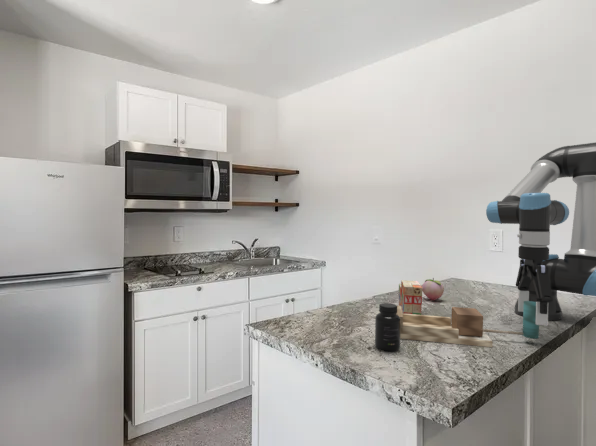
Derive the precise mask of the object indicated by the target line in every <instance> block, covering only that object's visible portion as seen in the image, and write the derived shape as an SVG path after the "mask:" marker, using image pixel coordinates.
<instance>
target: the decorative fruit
mask: <svg viewBox="0 0 596 446" xmlns="http://www.w3.org/2000/svg"><path fill="white" fill-rule="evenodd" d="M421 286H422V288H423V289H422V294H424V296H425V297H427V298H428V299H429V300H431V301H436V300H438V299H440V298H441V297H442V296H443V295H444V292H445V287H444V285H443V283H442V282H441V281H440V280H434V277H432V279H430V278H429V279H425V280H424V282H423V283H422V284H421Z"/></svg>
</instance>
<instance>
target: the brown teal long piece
mask: <svg viewBox="0 0 596 446" xmlns="http://www.w3.org/2000/svg"><path fill="white" fill-rule="evenodd" d="M451 326H452V327H453V328H455V329H458V330H459V335H469V336H480V337H483V332H485V333H494V334H506V335H519V336H523V337H524V338H528V339H531V340H533V339H535V340H536V339H537V340H538V339H539V338H540V335H539V334H540V325H536V302H533V301H524V306H523V316H522V331H512V330H511V331H510V330H509V331H508V330H500V329H498V330H497V329H489V328H484V316H483V314H482V313H480V312H479V310H477V308H476V307H475V308H473V307H472V308H471V307H460V306H459V307H457V306H452V307H451Z"/></svg>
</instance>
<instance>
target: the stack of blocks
mask: <svg viewBox="0 0 596 446" xmlns="http://www.w3.org/2000/svg"><path fill="white" fill-rule="evenodd" d="M422 289H423V288H422V284H421V283H420V282H419V281H418V280H403V279H402V280H401V281H400V283H399V284H398V306H401V308H402V313H404V314H416V315H423V314H422V304H423V291H422Z"/></svg>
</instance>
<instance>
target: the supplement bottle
mask: <svg viewBox="0 0 596 446" xmlns="http://www.w3.org/2000/svg"><path fill="white" fill-rule="evenodd" d="M397 306H398V305H397V304H394V303H391V302H390V303H389V302H384V303H379V307H378V308H379V309H378V312H379V313H377V314H376V315H375V321H374V322H375V324H374V325H375V326H374V329H375V330H374V333H375V334H374V346H375V348H376V349H377V350H379V351H381V352H387V353H394V352H397V351H399V350H400V348H401V339H400V329H401V319H400V317H399V316H398V315H397V314H396V313H397Z"/></svg>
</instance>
